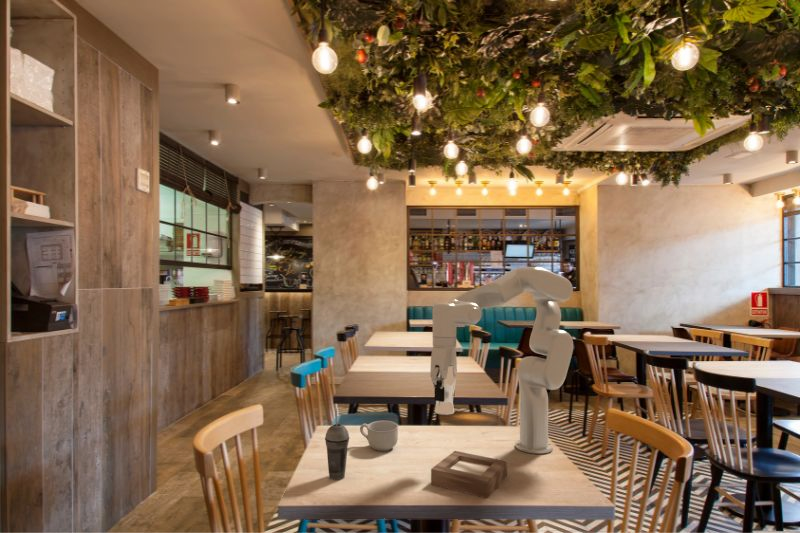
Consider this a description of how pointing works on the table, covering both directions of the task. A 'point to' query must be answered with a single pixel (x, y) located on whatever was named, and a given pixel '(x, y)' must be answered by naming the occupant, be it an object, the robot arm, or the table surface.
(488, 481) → the frame
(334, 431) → the beverage cup
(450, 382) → the beer glass
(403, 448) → the table surface
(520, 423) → the robot arm
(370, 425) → the teacup
